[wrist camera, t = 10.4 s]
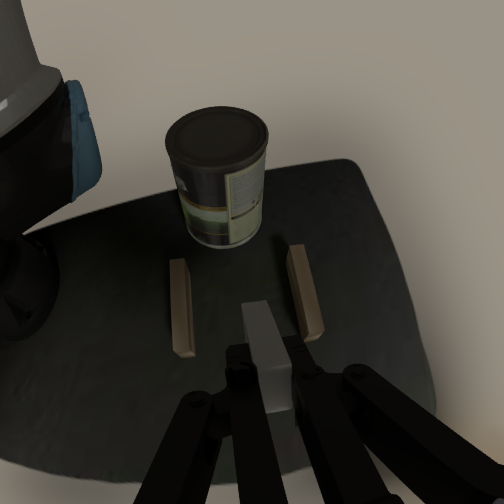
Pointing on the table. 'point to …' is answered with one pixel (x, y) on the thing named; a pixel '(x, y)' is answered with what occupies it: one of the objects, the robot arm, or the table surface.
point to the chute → (300, 289)
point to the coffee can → (219, 173)
